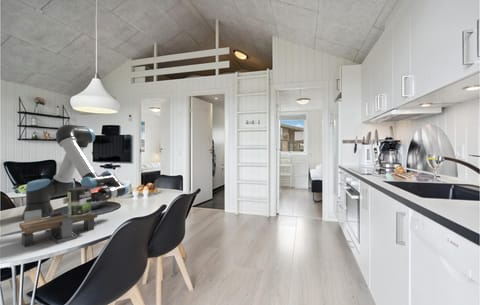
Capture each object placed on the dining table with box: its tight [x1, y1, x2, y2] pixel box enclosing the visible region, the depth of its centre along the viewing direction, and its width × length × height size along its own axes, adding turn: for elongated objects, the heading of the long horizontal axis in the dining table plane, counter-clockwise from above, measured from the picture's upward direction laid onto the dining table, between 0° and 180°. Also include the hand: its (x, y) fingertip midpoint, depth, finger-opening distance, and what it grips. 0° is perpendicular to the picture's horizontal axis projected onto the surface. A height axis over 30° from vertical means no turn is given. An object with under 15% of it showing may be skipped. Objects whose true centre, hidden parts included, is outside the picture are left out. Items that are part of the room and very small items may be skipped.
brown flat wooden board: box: [19, 210, 98, 234], centre depth 112 cm, size 15×28×2 cm, turn 144°
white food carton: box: [23, 210, 43, 223], centre depth 121 cm, size 4×7×10 cm, turn 138°
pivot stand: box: [21, 212, 95, 248], centre depth 112 cm, size 20×28×10 cm
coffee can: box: [66, 186, 92, 217], centre depth 118 cm, size 10×10×14 cm
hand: (71, 201), depth 114 cm, fingers closed on coffee can, 10 cm apart
